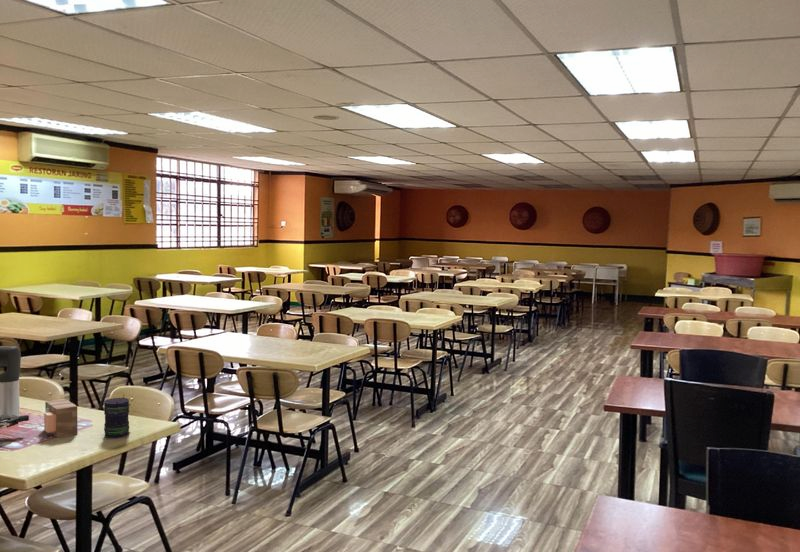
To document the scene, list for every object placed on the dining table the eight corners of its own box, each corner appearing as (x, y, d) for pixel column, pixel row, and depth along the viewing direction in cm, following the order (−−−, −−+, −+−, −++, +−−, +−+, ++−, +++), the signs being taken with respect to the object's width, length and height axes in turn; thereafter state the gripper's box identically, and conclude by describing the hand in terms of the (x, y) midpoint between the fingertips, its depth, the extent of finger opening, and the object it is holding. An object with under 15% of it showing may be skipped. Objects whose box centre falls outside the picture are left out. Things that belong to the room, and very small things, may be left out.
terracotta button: (44, 430, 272) (43, 412, 272) (59, 427, 277) (59, 410, 276) (47, 432, 269) (47, 415, 268) (63, 429, 273) (63, 412, 273)
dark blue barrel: (104, 433, 278) (104, 398, 277) (129, 430, 282) (128, 397, 281) (104, 439, 268) (103, 404, 268) (129, 437, 272) (129, 402, 272)
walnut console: (45, 428, 283) (45, 401, 282) (65, 425, 288) (65, 398, 288) (57, 437, 270) (56, 409, 270) (77, 433, 276) (77, 406, 275)
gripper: (-16, 419, 257) (32, 412, 269) (-23, 412, 267) (24, 405, 279) (-16, 437, 258) (32, 429, 270) (-23, 430, 267) (24, 422, 279)
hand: (28, 417), depth 274 cm, fingers closed
